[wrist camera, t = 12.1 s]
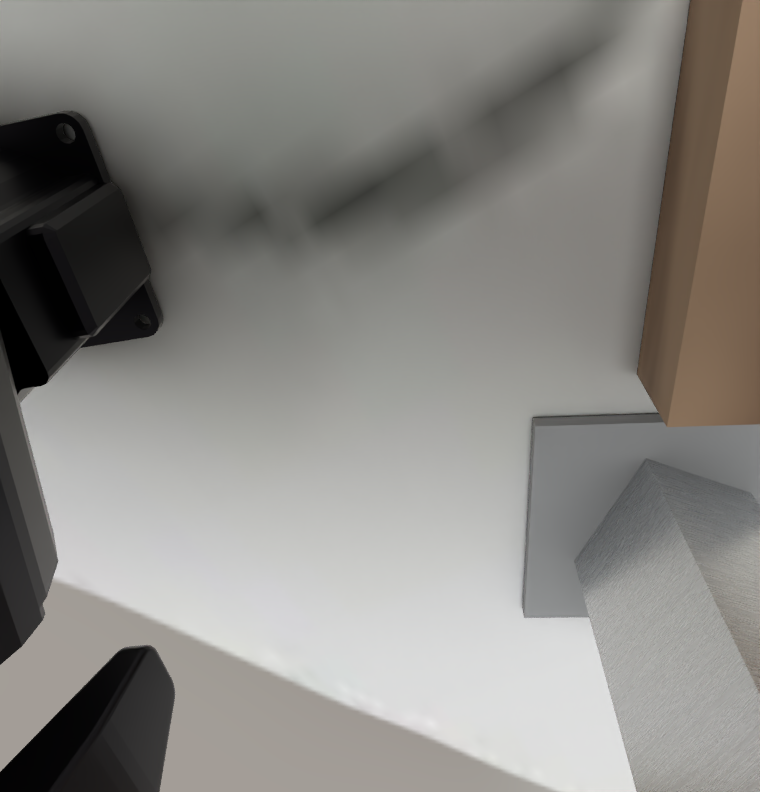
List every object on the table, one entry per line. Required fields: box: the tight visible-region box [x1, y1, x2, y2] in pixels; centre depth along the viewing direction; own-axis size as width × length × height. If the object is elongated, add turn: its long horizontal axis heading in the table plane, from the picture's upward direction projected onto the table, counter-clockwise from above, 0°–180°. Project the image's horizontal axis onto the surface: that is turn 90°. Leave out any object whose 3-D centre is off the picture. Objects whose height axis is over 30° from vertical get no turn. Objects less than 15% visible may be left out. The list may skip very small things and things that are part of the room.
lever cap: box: [574, 459, 760, 792], centre depth 19 cm, size 4×5×12 cm
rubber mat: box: [523, 414, 760, 618], centre depth 24 cm, size 9×9×1 cm
